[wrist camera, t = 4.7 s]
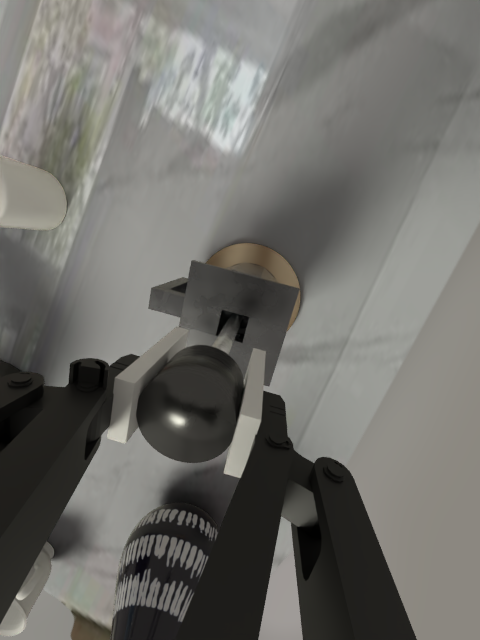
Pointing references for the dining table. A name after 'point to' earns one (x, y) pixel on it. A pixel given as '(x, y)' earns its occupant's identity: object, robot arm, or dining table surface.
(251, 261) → the ring
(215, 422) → the plunger
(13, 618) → the teacup
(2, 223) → the pill bottle
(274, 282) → the french press
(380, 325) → the dining table surface
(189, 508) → the vase
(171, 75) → the dining table surface
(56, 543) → the dining table surface
